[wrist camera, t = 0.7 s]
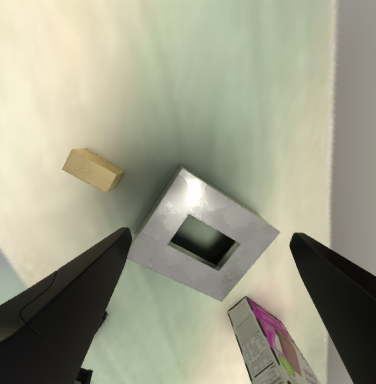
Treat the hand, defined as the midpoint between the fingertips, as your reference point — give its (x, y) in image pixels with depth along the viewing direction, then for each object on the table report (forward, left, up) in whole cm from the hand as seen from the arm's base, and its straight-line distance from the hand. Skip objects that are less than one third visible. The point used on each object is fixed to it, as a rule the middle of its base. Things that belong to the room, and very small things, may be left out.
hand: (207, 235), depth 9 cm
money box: (-4, -5, -13) cm, 15 cm away
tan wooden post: (-4, +10, -13) cm, 17 cm away
